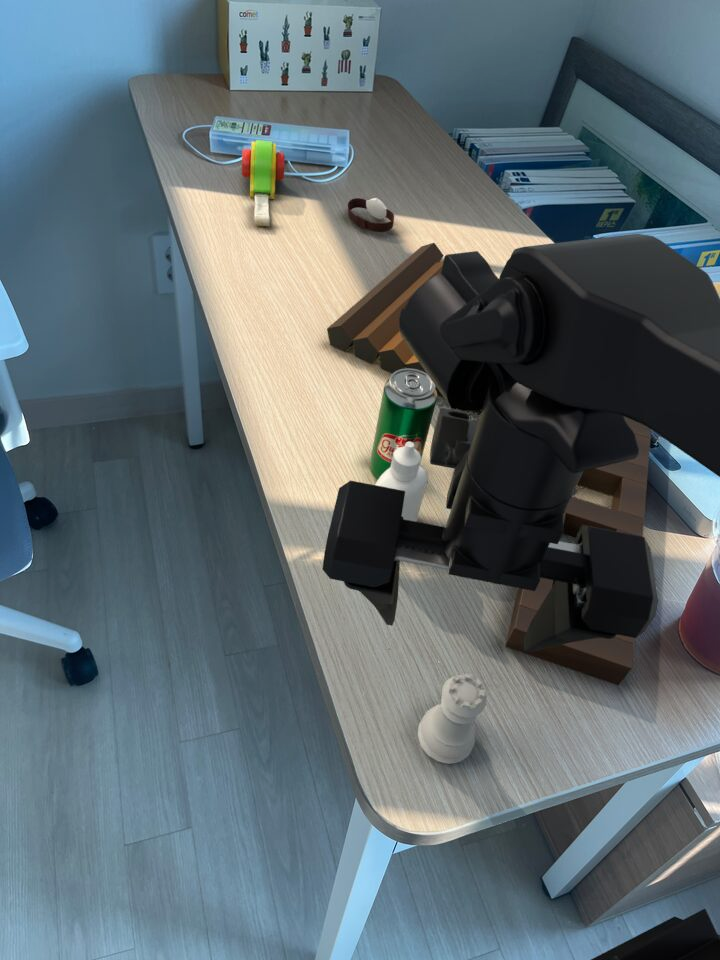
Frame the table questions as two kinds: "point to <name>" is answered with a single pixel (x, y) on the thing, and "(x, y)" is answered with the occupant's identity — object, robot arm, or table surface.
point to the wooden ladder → (624, 516)
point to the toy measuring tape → (262, 176)
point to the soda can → (402, 416)
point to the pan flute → (386, 315)
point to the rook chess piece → (453, 720)
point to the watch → (375, 209)
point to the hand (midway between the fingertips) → (458, 632)
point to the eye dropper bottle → (406, 479)
